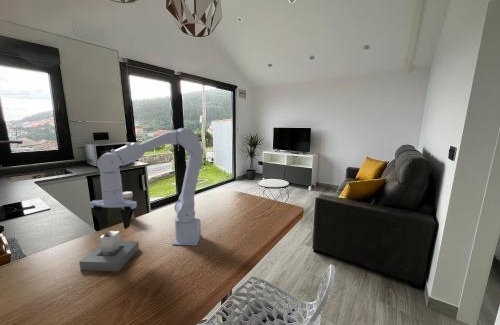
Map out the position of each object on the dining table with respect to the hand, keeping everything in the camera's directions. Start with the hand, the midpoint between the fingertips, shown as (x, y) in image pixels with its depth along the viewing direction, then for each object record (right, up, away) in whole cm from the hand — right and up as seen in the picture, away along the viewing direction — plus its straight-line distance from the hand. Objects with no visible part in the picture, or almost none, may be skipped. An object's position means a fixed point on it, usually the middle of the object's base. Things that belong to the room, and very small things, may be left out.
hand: (115, 227), depth 72 cm
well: (-1, -11, 0) cm, 11 cm away
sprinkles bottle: (-12, -5, +28) cm, 31 cm away
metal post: (-1, -11, 0) cm, 11 cm away
